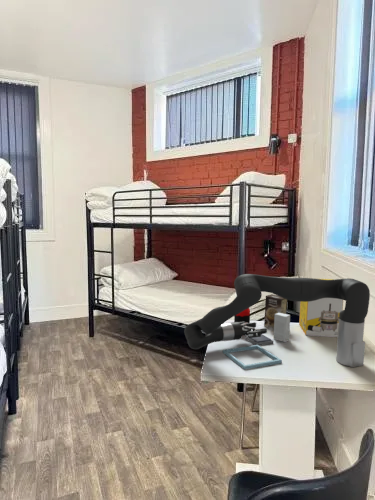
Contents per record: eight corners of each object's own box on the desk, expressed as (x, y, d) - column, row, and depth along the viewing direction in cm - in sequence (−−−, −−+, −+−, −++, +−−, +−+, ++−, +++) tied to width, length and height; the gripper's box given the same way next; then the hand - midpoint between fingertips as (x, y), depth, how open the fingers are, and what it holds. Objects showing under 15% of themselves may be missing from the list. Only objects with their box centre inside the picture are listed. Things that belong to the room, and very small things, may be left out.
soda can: (252, 330, 181) (253, 307, 179) (243, 334, 175) (244, 310, 174) (239, 327, 186) (240, 304, 184) (230, 330, 180) (231, 306, 179)
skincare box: (289, 340, 169) (290, 314, 167) (285, 342, 166) (286, 316, 164) (277, 336, 173) (278, 312, 171) (273, 339, 170) (274, 314, 168)
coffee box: (263, 326, 188) (265, 295, 186) (270, 323, 192) (271, 293, 190) (279, 330, 181) (281, 299, 180) (285, 327, 186) (287, 296, 184)
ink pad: (273, 343, 164) (273, 339, 164) (256, 346, 160) (256, 342, 160) (261, 336, 172) (262, 333, 172) (245, 339, 169) (245, 335, 168)
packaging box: (331, 326, 190) (334, 279, 187) (340, 337, 174) (344, 285, 171) (299, 324, 192) (301, 277, 189) (305, 335, 176) (308, 284, 173)
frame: (281, 362, 143) (281, 359, 143) (244, 369, 137) (244, 366, 137) (257, 347, 159) (257, 344, 159) (222, 352, 152) (222, 349, 152)
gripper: (238, 328, 151) (270, 324, 157) (221, 318, 164) (252, 315, 170) (237, 345, 152) (269, 341, 158) (221, 334, 165) (251, 330, 171)
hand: (260, 327), depth 164 cm, fingers open, 8 cm apart
